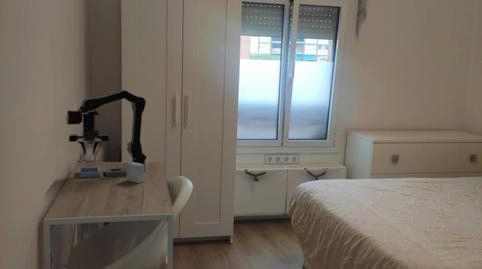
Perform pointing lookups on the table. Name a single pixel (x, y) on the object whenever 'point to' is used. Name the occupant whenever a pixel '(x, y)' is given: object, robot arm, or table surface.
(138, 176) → the medicine box
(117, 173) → the grey flat square frame
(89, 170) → the parts tray
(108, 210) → the table surface
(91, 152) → the grey rounded piece
